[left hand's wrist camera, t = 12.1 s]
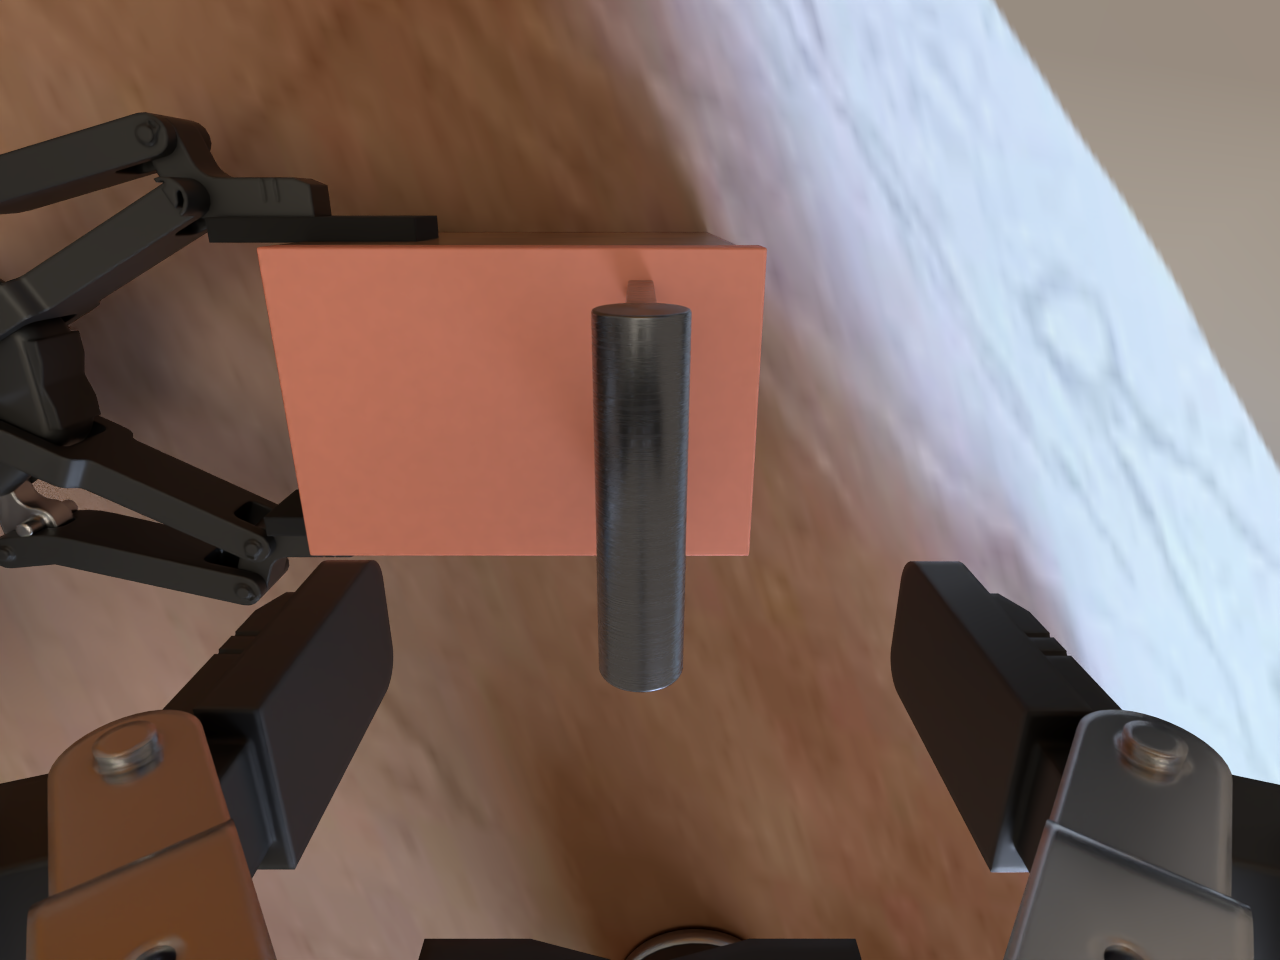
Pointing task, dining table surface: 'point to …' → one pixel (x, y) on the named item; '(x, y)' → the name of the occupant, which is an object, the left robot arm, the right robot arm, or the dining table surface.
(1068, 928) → the left robot arm
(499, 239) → the chest
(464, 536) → the lid
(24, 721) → the dining table surface
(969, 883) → the dining table surface
